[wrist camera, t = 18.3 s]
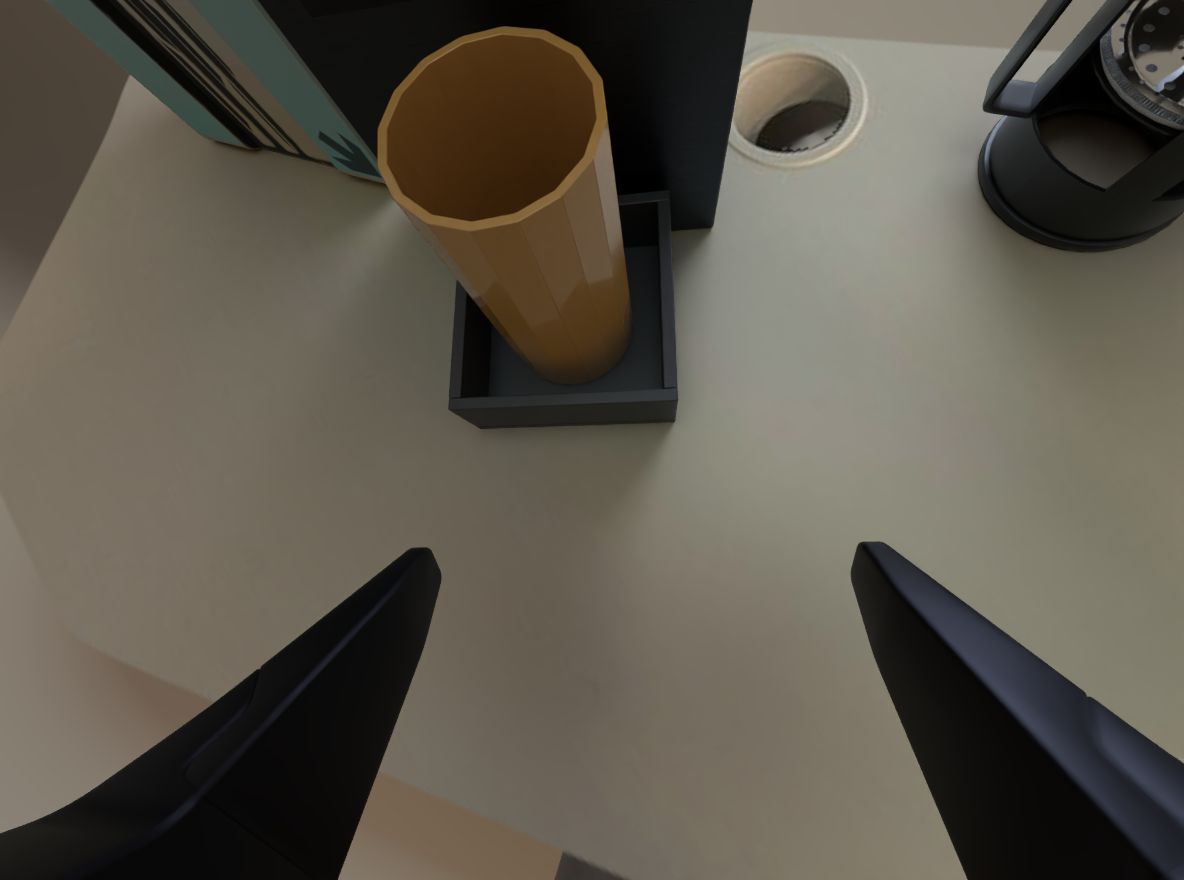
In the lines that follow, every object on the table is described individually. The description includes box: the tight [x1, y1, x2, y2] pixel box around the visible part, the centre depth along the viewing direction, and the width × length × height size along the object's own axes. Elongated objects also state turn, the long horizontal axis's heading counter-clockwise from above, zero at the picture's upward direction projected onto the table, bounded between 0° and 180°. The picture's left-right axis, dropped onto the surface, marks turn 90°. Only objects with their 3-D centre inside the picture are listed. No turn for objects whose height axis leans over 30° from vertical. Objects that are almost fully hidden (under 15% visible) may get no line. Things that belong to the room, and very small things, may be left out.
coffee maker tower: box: [258, 0, 753, 231], centre depth 18 cm, size 7×16×20 cm, turn 90°
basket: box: [448, 190, 678, 429], centre depth 24 cm, size 11×11×4 cm
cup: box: [378, 26, 633, 385], centre depth 19 cm, size 7×7×13 cm
